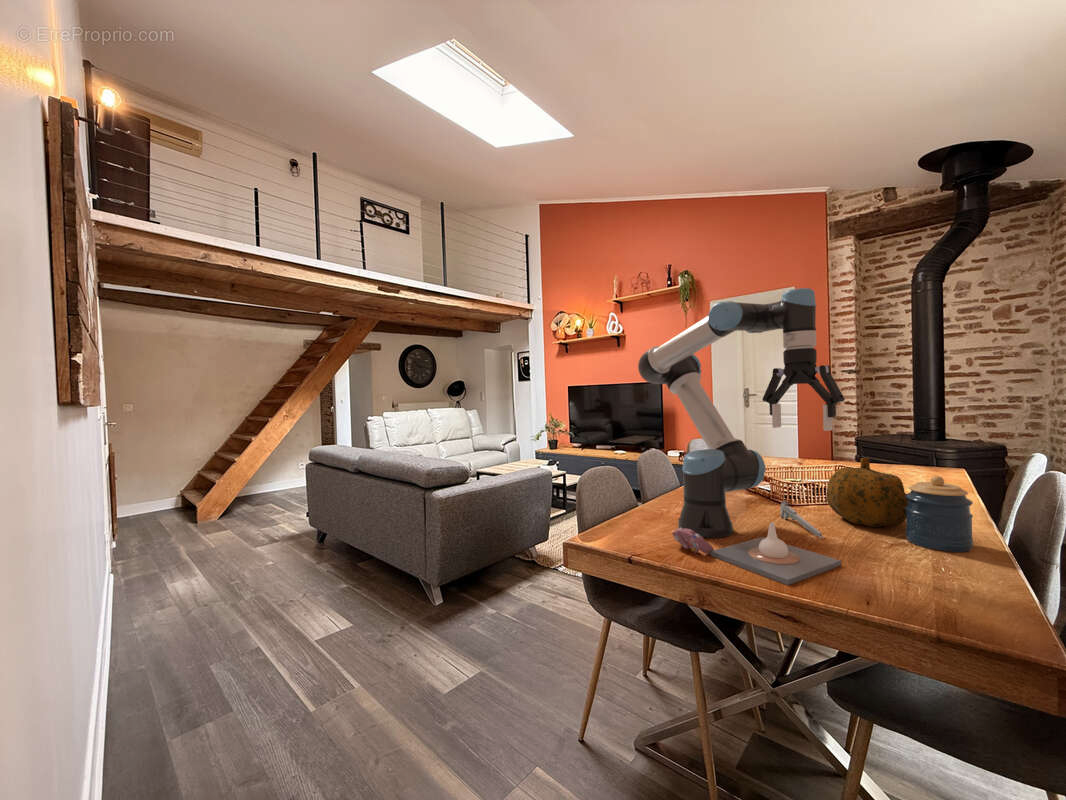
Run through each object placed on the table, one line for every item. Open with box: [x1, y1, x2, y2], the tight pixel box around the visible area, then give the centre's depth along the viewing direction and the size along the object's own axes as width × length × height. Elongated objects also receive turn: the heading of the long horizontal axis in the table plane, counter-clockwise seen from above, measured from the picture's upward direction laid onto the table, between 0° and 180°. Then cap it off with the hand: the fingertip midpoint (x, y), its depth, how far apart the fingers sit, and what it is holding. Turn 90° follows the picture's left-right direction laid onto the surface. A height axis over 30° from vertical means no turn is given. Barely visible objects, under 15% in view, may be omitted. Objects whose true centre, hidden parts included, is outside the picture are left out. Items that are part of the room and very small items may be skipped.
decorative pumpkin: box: [826, 457, 908, 528], centre depth 135 cm, size 20×21×20 cm
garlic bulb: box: [759, 522, 788, 558], centre depth 108 cm, size 6×6×8 cm
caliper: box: [779, 499, 825, 539], centre depth 132 cm, size 20×1×6 cm, turn 0°
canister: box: [905, 475, 974, 553], centre depth 115 cm, size 13×13×18 cm
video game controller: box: [672, 527, 714, 555], centre depth 116 cm, size 10×5×7 cm, turn 25°
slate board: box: [710, 536, 842, 586], centre depth 108 cm, size 20×20×1 cm
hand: (801, 428), depth 118 cm, fingers open, 13 cm apart
